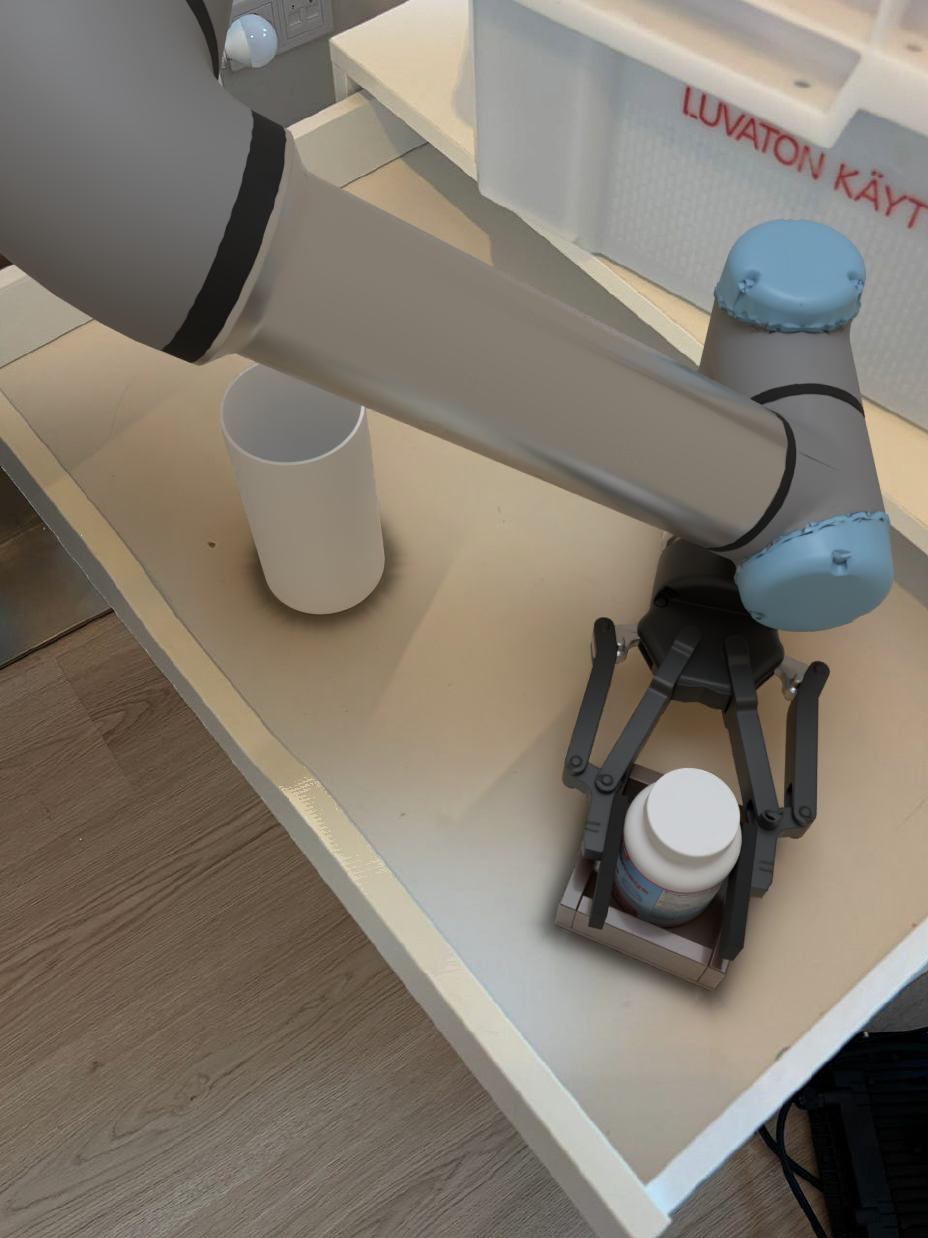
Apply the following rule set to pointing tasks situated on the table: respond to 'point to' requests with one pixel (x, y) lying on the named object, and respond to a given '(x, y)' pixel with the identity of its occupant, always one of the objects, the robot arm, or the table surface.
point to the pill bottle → (677, 847)
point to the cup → (305, 488)
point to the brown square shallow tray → (665, 948)
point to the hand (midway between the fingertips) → (663, 936)
